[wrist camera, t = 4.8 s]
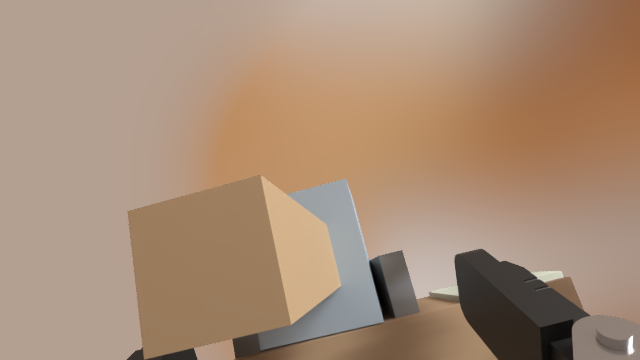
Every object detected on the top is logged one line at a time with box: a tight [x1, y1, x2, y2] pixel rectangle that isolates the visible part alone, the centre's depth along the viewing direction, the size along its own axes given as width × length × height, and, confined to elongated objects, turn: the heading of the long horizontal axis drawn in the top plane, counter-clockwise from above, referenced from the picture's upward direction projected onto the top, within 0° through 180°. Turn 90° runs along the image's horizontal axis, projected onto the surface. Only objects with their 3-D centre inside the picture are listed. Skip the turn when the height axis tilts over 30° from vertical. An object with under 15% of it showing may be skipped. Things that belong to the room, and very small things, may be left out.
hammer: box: [128, 175, 384, 359], centre depth 16 cm, size 6×17×7 cm, turn 171°
